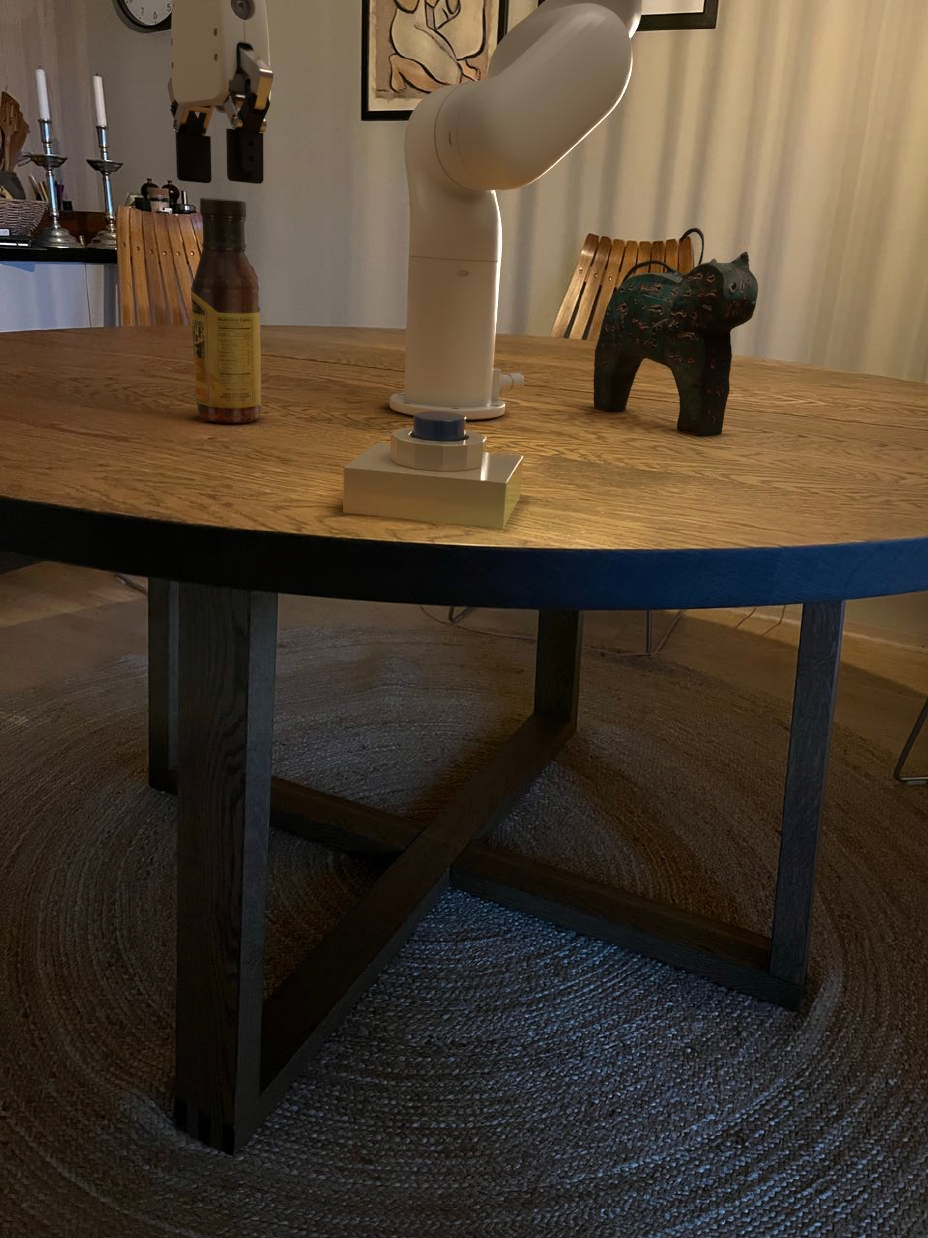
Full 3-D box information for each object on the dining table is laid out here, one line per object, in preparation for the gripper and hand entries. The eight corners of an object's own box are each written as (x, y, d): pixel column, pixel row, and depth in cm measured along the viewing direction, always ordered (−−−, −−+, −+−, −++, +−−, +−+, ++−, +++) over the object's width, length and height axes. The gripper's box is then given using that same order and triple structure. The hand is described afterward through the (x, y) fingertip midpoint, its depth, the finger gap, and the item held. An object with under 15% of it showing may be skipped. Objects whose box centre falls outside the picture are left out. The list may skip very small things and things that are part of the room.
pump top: (419, 434, 71) (420, 409, 71) (468, 438, 71) (470, 413, 70) (407, 443, 68) (408, 417, 67) (459, 447, 67) (460, 422, 67)
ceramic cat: (741, 437, 104) (773, 231, 96) (695, 440, 100) (725, 227, 93) (617, 405, 119) (637, 225, 112) (575, 407, 116) (592, 222, 109)
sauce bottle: (201, 412, 100) (193, 196, 92) (265, 415, 100) (261, 201, 93) (190, 424, 93) (180, 194, 86) (258, 427, 94) (254, 199, 87)
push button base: (377, 483, 76) (378, 418, 74) (520, 498, 74) (525, 431, 72) (342, 513, 68) (343, 439, 66) (503, 529, 66) (508, 455, 64)
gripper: (308, -48, 79) (306, 186, 85) (208, -18, 91) (213, 185, 97) (221, -72, 75) (226, 178, 81) (129, -37, 87) (138, 177, 93)
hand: (219, 181), depth 89 cm, fingers open, 9 cm apart
